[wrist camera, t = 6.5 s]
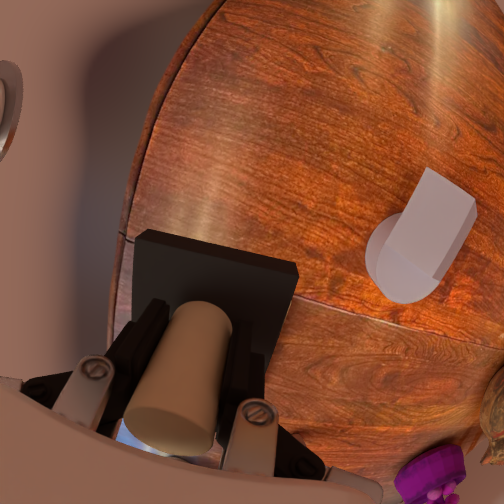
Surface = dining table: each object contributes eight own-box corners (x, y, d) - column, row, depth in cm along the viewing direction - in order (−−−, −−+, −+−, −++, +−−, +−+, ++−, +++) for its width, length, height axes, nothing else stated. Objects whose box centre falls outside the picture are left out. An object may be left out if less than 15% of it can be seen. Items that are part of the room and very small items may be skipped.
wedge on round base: (410, 164, 24) (349, 269, 29) (446, 169, 18) (370, 299, 22) (460, 209, 26) (405, 300, 30) (496, 223, 19) (430, 331, 23)
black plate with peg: (141, 343, 15) (86, 444, 8) (147, 228, 12) (43, 308, 5) (259, 372, 15) (254, 489, 8) (296, 262, 13) (327, 385, 6)
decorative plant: (376, 477, 47) (395, 568, 19) (424, 438, 41) (460, 542, 13) (423, 470, 48) (446, 545, 20) (467, 432, 42) (503, 514, 14)
